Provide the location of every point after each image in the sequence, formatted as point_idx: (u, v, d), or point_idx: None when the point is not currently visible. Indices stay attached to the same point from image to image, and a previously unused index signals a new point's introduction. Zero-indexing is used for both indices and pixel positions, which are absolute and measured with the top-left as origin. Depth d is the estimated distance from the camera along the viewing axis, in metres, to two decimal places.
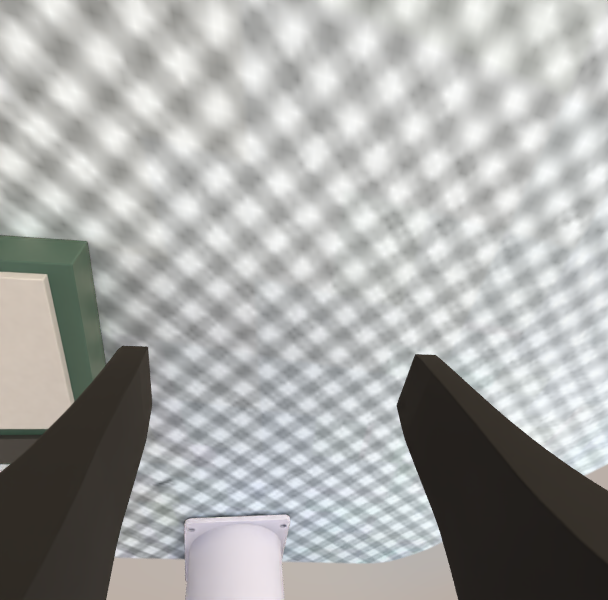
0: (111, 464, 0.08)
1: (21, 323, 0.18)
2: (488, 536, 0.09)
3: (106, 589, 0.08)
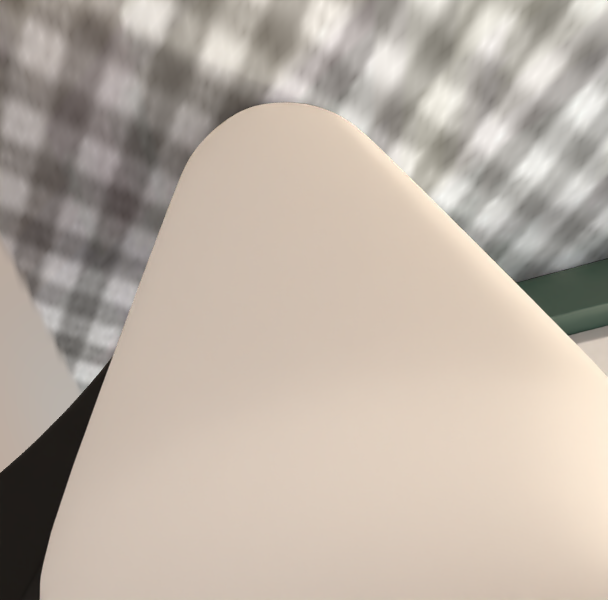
0: None
1: None
2: None
3: None
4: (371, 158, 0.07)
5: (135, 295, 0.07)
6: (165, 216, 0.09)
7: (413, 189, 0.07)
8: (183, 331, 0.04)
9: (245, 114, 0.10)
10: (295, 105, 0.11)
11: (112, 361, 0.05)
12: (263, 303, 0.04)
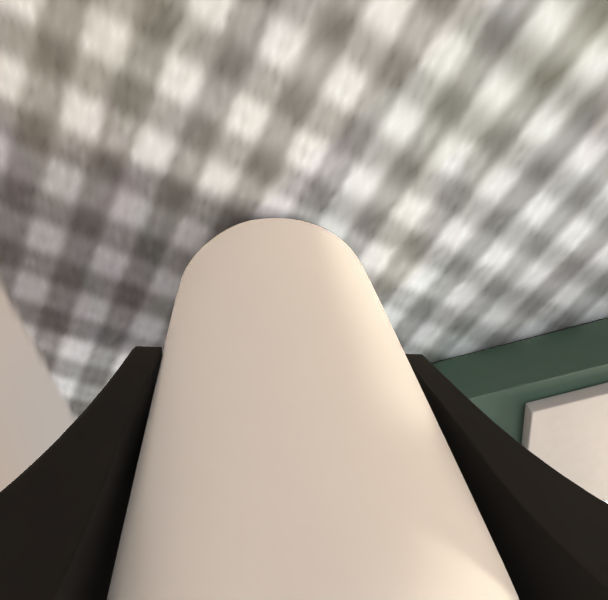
0: (129, 464, 0.08)
1: None
2: None
3: None
4: (337, 310, 0.09)
5: (146, 436, 0.08)
6: (169, 341, 0.10)
7: (367, 348, 0.08)
8: (184, 530, 0.06)
9: (237, 234, 0.12)
10: (280, 225, 0.12)
11: (131, 517, 0.07)
12: (239, 516, 0.05)
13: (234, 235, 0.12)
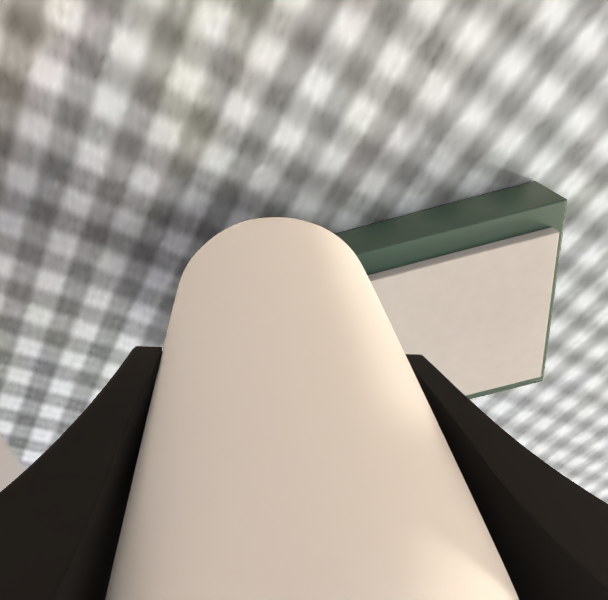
0: (129, 464, 0.08)
1: (496, 370, 0.20)
2: None
3: None
4: (336, 309, 0.09)
5: (145, 435, 0.08)
6: (168, 340, 0.10)
7: (367, 347, 0.08)
8: (183, 529, 0.06)
9: (236, 234, 0.12)
10: (280, 224, 0.12)
11: (130, 516, 0.07)
12: (237, 516, 0.05)
13: (234, 234, 0.12)
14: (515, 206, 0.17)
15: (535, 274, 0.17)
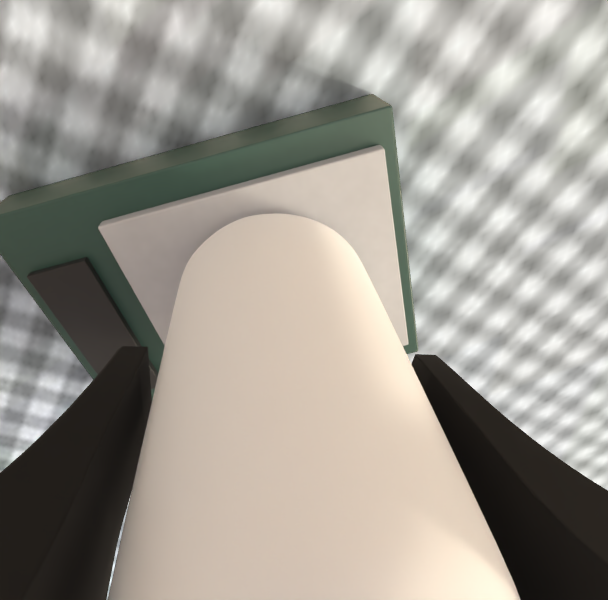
0: (111, 464, 0.08)
1: None
2: None
3: (106, 589, 0.08)
4: (335, 301, 0.09)
5: (149, 423, 0.08)
6: (171, 333, 0.11)
7: (365, 337, 0.09)
8: (188, 507, 0.06)
9: (237, 229, 0.12)
10: (280, 220, 0.13)
11: (136, 498, 0.07)
12: (240, 493, 0.06)
13: (234, 230, 0.12)
14: (331, 117, 0.13)
15: (366, 207, 0.14)
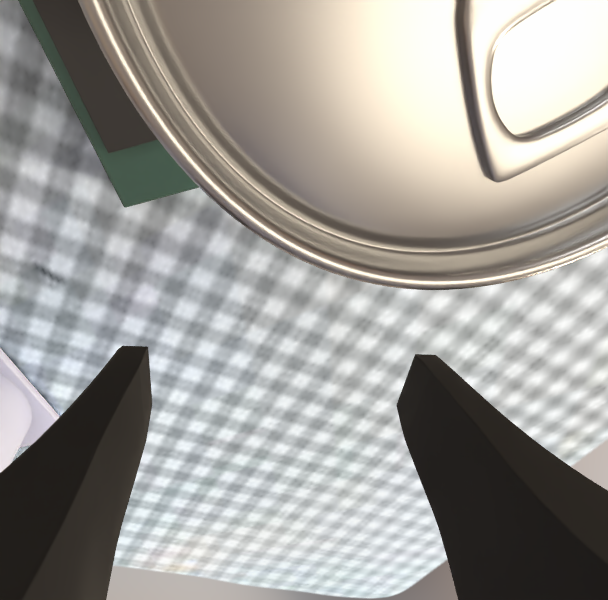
0: (111, 464, 0.08)
1: None
2: (488, 536, 0.09)
3: (106, 589, 0.08)
4: None
5: None
6: None
7: None
8: None
9: None
10: None
11: None
12: None
13: None
14: None
15: None
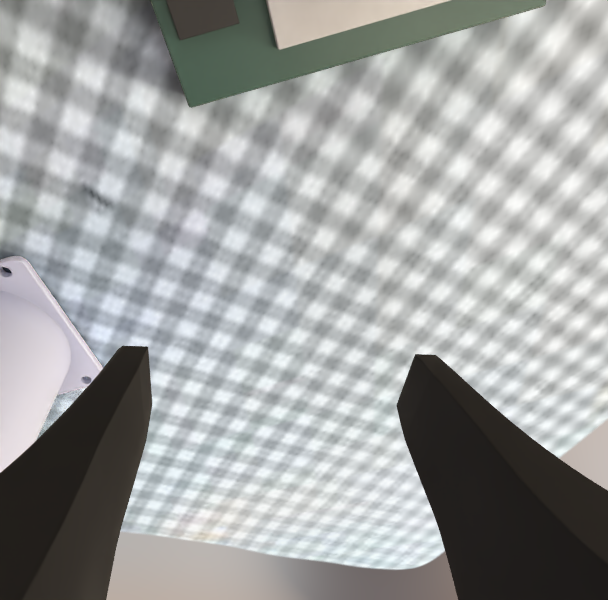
0: (111, 464, 0.08)
1: None
2: (488, 536, 0.09)
3: (106, 590, 0.08)
4: None
5: None
6: None
7: None
8: None
9: None
10: None
11: None
12: None
13: None
14: None
15: None
